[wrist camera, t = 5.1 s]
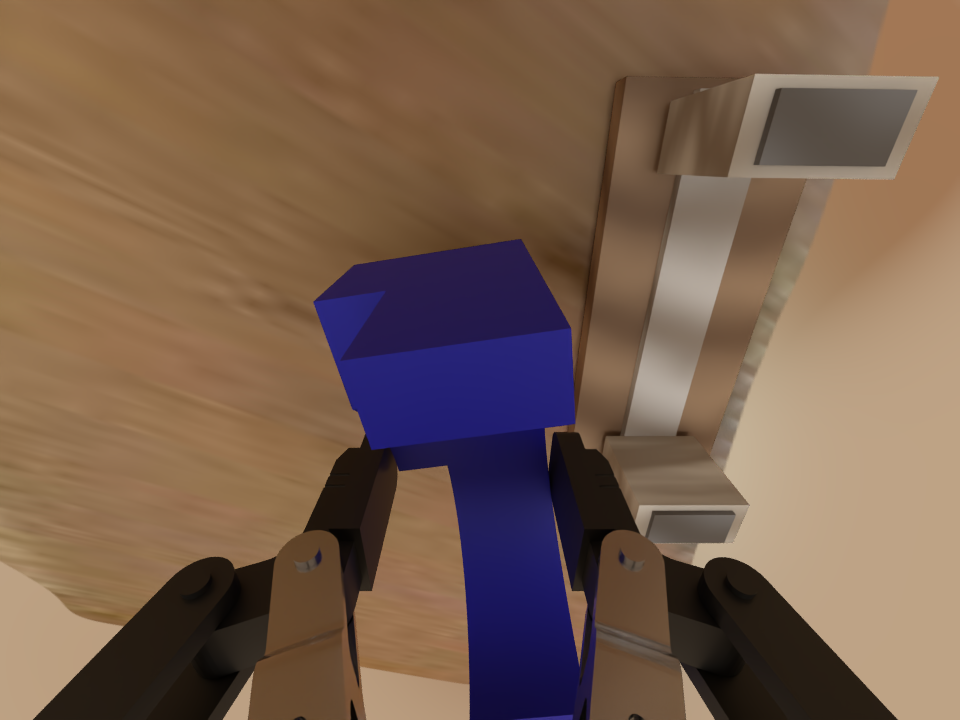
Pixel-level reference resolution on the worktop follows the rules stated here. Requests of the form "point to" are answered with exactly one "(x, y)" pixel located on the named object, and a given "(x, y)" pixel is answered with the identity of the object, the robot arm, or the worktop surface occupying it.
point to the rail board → (706, 263)
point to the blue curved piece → (475, 441)
